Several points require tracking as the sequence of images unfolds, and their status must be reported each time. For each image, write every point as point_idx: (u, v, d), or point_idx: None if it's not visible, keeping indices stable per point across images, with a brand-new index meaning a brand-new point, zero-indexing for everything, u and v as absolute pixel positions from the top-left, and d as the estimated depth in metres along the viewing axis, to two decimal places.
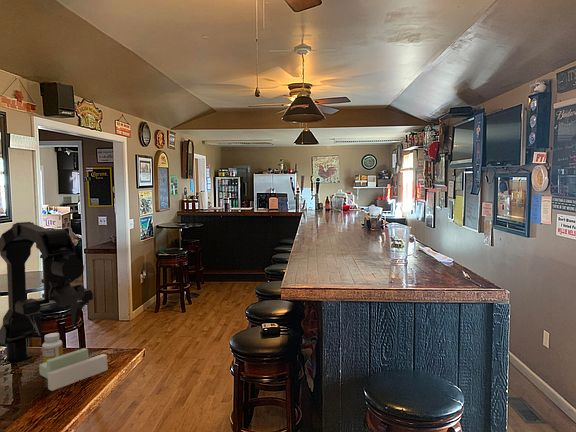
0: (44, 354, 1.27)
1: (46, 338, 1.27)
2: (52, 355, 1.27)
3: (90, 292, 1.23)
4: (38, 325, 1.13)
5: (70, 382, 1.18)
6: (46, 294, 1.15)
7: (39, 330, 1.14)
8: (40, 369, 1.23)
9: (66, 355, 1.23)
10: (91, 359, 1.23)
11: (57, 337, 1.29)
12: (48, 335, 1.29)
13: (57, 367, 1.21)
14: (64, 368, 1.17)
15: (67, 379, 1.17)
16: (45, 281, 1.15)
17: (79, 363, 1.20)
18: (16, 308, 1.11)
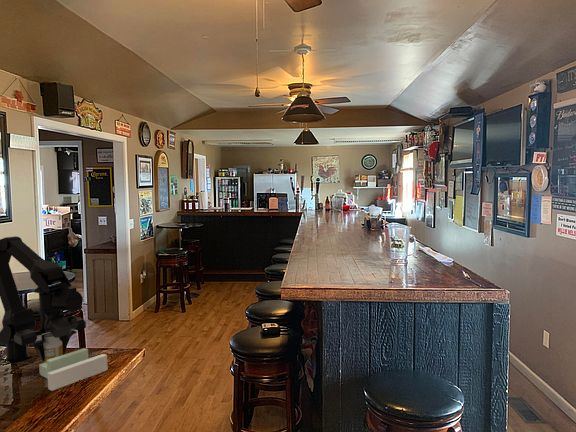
0: (44, 354, 1.27)
1: (46, 338, 1.27)
2: (52, 355, 1.27)
3: (83, 321, 1.34)
4: (41, 352, 1.26)
5: (70, 382, 1.18)
6: (42, 325, 1.26)
7: (42, 356, 1.26)
8: (40, 369, 1.23)
9: (66, 355, 1.23)
10: (91, 359, 1.23)
11: None
12: (48, 335, 1.29)
13: (57, 367, 1.21)
14: (64, 368, 1.17)
15: (67, 379, 1.17)
16: (41, 313, 1.26)
17: (79, 363, 1.20)
18: (15, 339, 1.23)
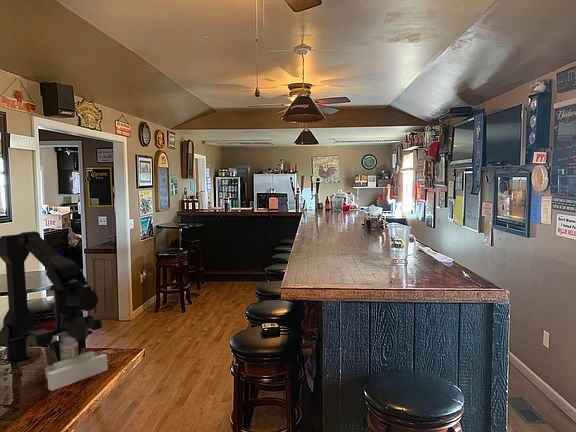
0: None
1: (61, 338, 1.21)
2: (68, 356, 1.21)
3: (99, 321, 1.28)
4: (57, 353, 1.20)
5: (70, 382, 1.18)
6: (58, 325, 1.20)
7: (57, 357, 1.21)
8: (46, 372, 1.21)
9: (73, 358, 1.21)
10: (91, 359, 1.23)
11: None
12: (63, 335, 1.23)
13: None
14: (64, 368, 1.17)
15: (67, 379, 1.17)
16: (57, 312, 1.20)
17: (79, 363, 1.20)
18: (29, 339, 1.17)
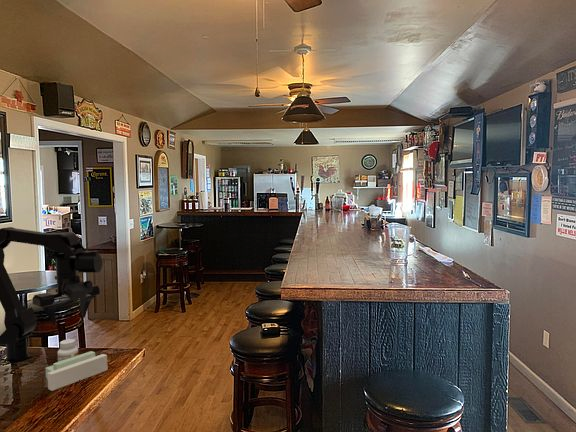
0: None
1: (61, 345, 1.22)
2: None
3: (97, 287, 1.39)
4: (52, 316, 1.30)
5: (70, 382, 1.18)
6: (59, 289, 1.31)
7: (53, 320, 1.30)
8: (46, 372, 1.20)
9: (73, 358, 1.21)
10: (91, 359, 1.23)
11: (73, 344, 1.23)
12: (64, 341, 1.23)
13: None
14: (64, 368, 1.17)
15: (67, 379, 1.17)
16: (58, 277, 1.31)
17: (79, 363, 1.20)
18: (33, 301, 1.28)
